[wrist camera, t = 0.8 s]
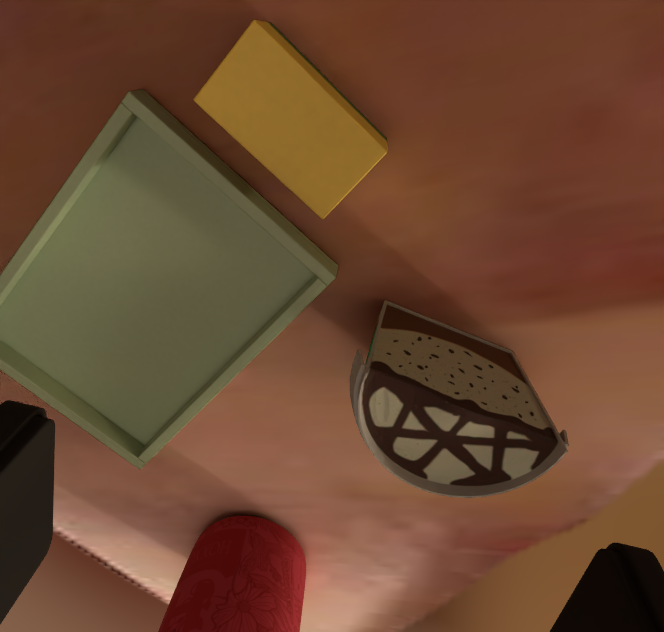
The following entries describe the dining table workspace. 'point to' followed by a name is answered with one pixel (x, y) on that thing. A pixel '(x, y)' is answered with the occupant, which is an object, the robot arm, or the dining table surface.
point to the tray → (150, 283)
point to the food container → (450, 409)
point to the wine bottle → (240, 580)
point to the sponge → (291, 118)
